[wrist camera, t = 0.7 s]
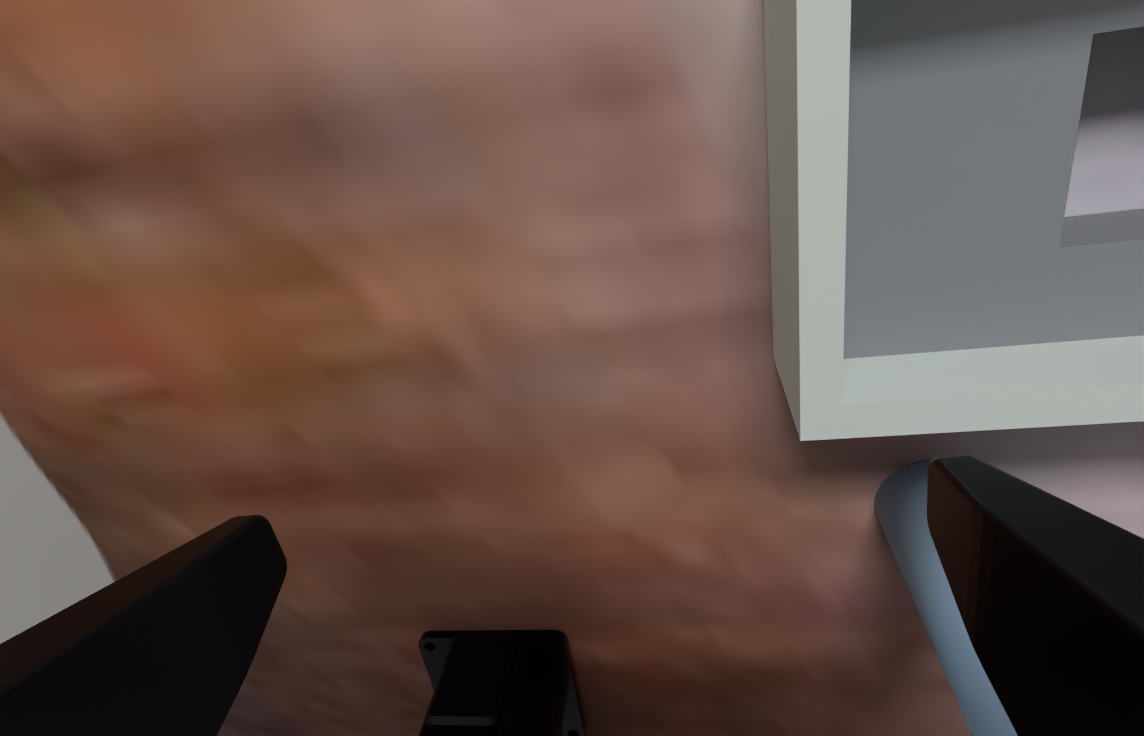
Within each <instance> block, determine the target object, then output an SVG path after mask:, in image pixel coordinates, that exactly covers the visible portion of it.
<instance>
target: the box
mask: <svg viewBox="0 0 1144 736" xmlns="http://www.w3.org/2000/svg"><path fill="white" fill-rule="evenodd" d="M763 1H764V37H765V73H766V109H767V146H768V182H769V218H770V254H771V291H772V327H773V358H774V361H775V364H776V367H777V371H778V374H779V377H780V380H781V383H782V386H783V389H784V392H785V395H786V398H787V401H788V404H789V407H790V410H791V414H792V417H793V420H794V423H795V426H796V429H797V432H798V435H799V438H800V441H810V440H827V439H845V438H862V437H879V436H897V435H914V434H931V433H949V432H966V431H984V430H1001V429H1018V428H1036V427H1053V426H1070V425H1088V424H1105V423H1122V422H1140V421H1144V209H1138V210H1129V211H1120V212H1111V213H1101V214H1092V215H1083V216H1074V217H1065V218H1064V214H1065V207H1066V201H1067V195H1068V189H1069V182H1070V176H1071V170H1072V164H1073V158H1074V151H1075V145H1076V139H1077V133H1078V126H1079V120H1080V114H1081V108H1082V102H1083V95H1084V89H1085V83H1086V77H1087V70H1088V64H1089V58H1090V52H1091V46H1092V39H1093V34H1098V33H1104V32H1111V31H1117V30H1124V29H1130V28H1137V27H1143V26H1144V0H763Z"/></svg>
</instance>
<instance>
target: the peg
mask: <svg viewBox="0 0 1144 736" xmlns="http://www.w3.org/2000/svg"><path fill="white" fill-rule="evenodd" d="M930 461H931V460H929V461H921V462H916V463H913V464H910V465H907V466H905V467H902V468H901V469H899V470H897V471H896V472H894V473H893V474H891V475H890V476H889V477H888V478H887V479H886V480H885V481H884V482H883V483H882V485H881V486H880V488H879V490H878V492H877V494H876V497H875V512H876V515H877V517H878V520H879V522H880V524H881V527H882V529H883V531H884V534H885V536H886V538H887V540H888V543H889V545H890V547H891V550H892V552H893V554H894V557H895V559H896V561H897V564H898V566H899V568H900V570H901V573H902V575H903V577H904V580H905V582H906V584H907V587H908V589H909V591H910V594H911V596H912V598H913V600H914V603H915V605H916V607H917V610H918V612H919V614H920V617H921V619H922V621H923V623H924V626H925V628H926V630H927V633H928V635H929V637H930V640H931V642H932V644H933V647H934V649H935V651H936V653H937V656H938V658H939V660H940V663H941V665H942V667H943V670H944V672H945V674H946V676H947V679H948V681H949V683H950V686H951V688H952V690H953V693H954V695H955V697H956V700H957V702H958V704H959V706H960V709H961V711H962V713H963V716H964V718H965V720H966V723H967V725H968V727H969V729H970V732H971V734H972V736H1018V735H1017V733H1016V731H1015V730H1014V728H1013V726H1012V724H1011V722H1010V720H1009V718H1008V716H1007V714H1006V712H1005V710H1004V708H1003V706H1002V704H1001V702H1000V700H999V698H998V696H997V694H996V693H995V691H994V689H993V687H992V685H991V683H990V681H989V679H988V677H987V675H986V673H985V671H984V669H983V667H982V665H981V663H980V661H979V659H978V657H977V655H976V653H975V650H974V648H973V646H972V643H971V641H970V638H969V636H968V633H967V631H966V628H965V626H964V623H963V620H962V618H961V615H960V612H959V610H958V607H957V604H956V602H955V599H954V596H953V594H952V591H951V588H950V586H949V583H948V580H947V577H946V575H945V572H944V569H943V567H942V564H941V561H940V559H939V556H938V553H937V551H936V548H935V545H934V543H933V540H932V537H931V534H930V531H929V527H928V522H927V484H928V467H929V463H930Z"/></svg>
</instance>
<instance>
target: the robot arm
mask: <svg viewBox="0 0 1144 736" xmlns="http://www.w3.org/2000/svg"><path fill="white" fill-rule="evenodd" d="M927 522H928V527H929V531H930V534H931V537H932V540H933V543H934V545H935V548H936V551H937V553H938V556H939V559H940V561H941V564H942V567H943V569H944V572H945V575H946V577H947V580H948V583H949V586H950V588H951V591H952V594H953V596H954V599H955V602H956V604H957V607H958V610H959V612H960V615H961V618H962V620H963V623H964V626H965V628H966V631H967V633H968V636H969V638H970V641H971V643H972V646H973V648H974V650H975V653H976V655H977V657H978V659H979V661H980V663H981V665H982V667H983V669H984V671H985V673H986V675H987V677H988V679H989V681H990V683H991V685H992V687H993V689H994V691H995V693H996V694H997V696H998V698H999V700H1000V702H1001V704H1002V706H1003V708H1004V710H1005V712H1006V714H1007V716H1008V718H1009V720H1010V722H1011V724H1012V726H1013V728H1014V730H1015V731H1016V733H1017V735H1018V736H1144V539H1143V538H1141V537H1139V536H1137V535H1135V534H1133V533H1131V532H1129V531H1127V530H1125V529H1122V528H1120V527H1118V526H1116V525H1114V524H1112V523H1110V522H1108V521H1106V520H1104V519H1102V518H1100V517H1097V516H1095V515H1093V514H1091V513H1089V512H1087V511H1085V510H1083V509H1081V508H1079V507H1077V506H1075V505H1073V504H1070V503H1068V502H1066V501H1064V500H1062V499H1060V498H1058V497H1056V496H1054V495H1052V494H1050V493H1048V492H1045V491H1043V490H1041V489H1039V488H1037V487H1035V486H1033V485H1031V484H1029V483H1027V482H1025V481H1023V480H1020V479H1018V478H1016V477H1014V476H1012V475H1010V474H1008V473H1006V472H1004V471H1002V470H1000V469H998V468H995V467H993V466H991V465H989V464H987V463H985V462H983V461H981V460H979V459H977V458H975V457H972V456H970V455H955V456H943V457H935V458H933V459H932V460H931V461H930V463H929V467H928V484H927ZM286 571H287V562H286V558H285V555H284V553H283V551H282V548H281V546H280V544H279V542H278V540H277V537H276V535H275V533H274V531H273V529H272V527H271V524H270V522H269V521H268V520H267V519H266V518H265V517H264V516H261V515H248V516H237V517H234V518H231V519H230V520H228V521H226V522H224V523H222V524H220V525H218V526H217V527H215V528H213V529H211V530H209V531H207V532H206V533H204V534H202V535H200V536H198V537H196V538H195V539H193V540H191V541H189V542H187V543H185V544H184V545H182V546H180V547H178V548H176V549H174V550H172V551H171V552H169V553H167V554H165V555H163V556H161V557H160V558H158V559H156V560H154V561H152V562H150V563H149V564H147V565H145V566H143V567H141V568H139V569H138V570H136V571H134V572H132V573H130V574H128V575H126V576H125V577H123V578H121V579H119V580H117V581H115V582H114V583H112V584H110V585H108V586H106V587H104V588H103V589H101V590H99V591H97V592H95V593H93V594H92V595H90V596H88V597H86V598H84V599H82V600H81V601H79V602H77V603H75V604H73V605H71V606H70V607H68V608H66V609H64V610H62V611H60V612H59V613H57V614H55V615H53V616H51V617H50V618H47V619H46V620H44V621H42V622H40V623H38V624H36V625H35V626H33V627H31V628H29V629H27V630H25V631H23V632H22V633H20V634H18V635H16V636H14V637H12V638H11V639H9V640H7V641H5V642H3V643H2V644H0V736H217V734H218V732H219V730H220V728H221V726H222V724H223V722H224V720H225V718H226V716H227V714H228V712H229V710H230V708H231V706H232V704H233V702H234V700H235V698H236V696H237V694H238V692H239V690H240V688H241V685H242V683H243V681H244V679H245V677H246V675H247V673H248V670H249V668H250V665H251V663H252V661H253V658H254V656H255V653H256V651H257V648H258V646H259V643H260V640H261V638H262V635H263V633H264V630H265V628H266V625H267V622H268V620H269V617H270V615H271V612H272V610H273V607H274V604H275V602H276V599H277V597H278V594H279V592H280V589H281V586H282V584H283V581H284V579H285V576H286ZM553 642H556V643H553ZM419 648H420V651H421V654H422V657H423V660H424V663H425V666H426V668H427V671H428V674H429V677H430V680H431V683H432V686H433V689H434V694H433V697H432V700H431V702H430V705H429V708H428V711H427V713H426V716H425V720H424V723H423V726H422V728H421V731H420V734H419V736H584V733H585V722H584V717H583V713H582V708H581V703H580V699H579V694H578V690H577V685H576V680H575V676H574V671H573V666H572V662H571V657H570V652H569V648H568V643H567V639H566V636H565V635H564V634H563V633H562V632H559V631H556V630H498V631H427V632H425V633H423V635H422V637H421V639H420V642H419Z"/></svg>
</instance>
